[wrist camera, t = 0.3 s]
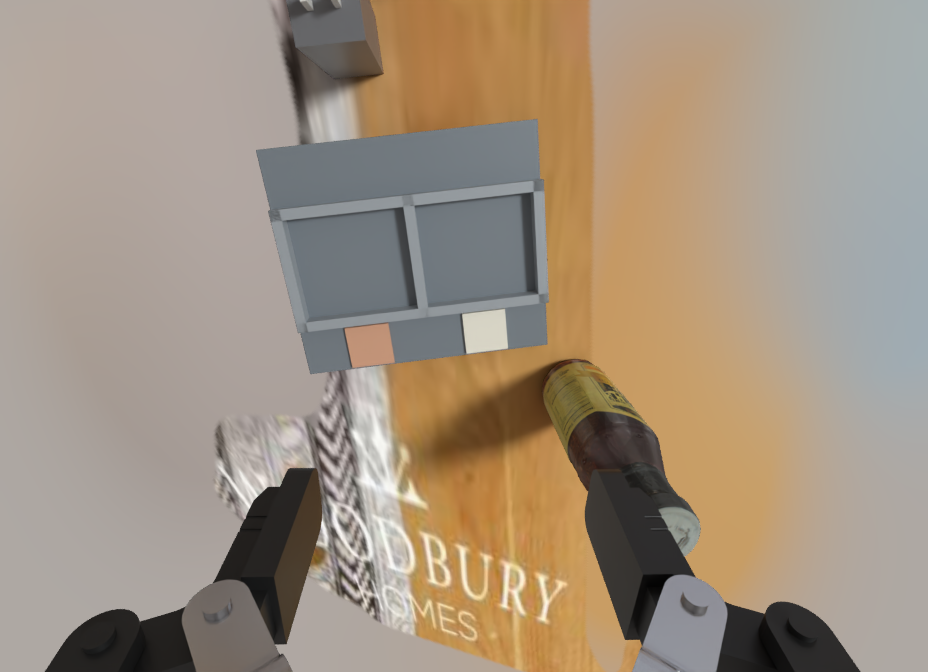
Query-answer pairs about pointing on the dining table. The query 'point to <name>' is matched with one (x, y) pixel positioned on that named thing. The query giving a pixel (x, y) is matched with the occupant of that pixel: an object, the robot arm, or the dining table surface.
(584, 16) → the dining table surface
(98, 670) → the robot arm
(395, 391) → the dining table surface
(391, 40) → the dining table surface
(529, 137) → the grey tray
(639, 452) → the sauce bottle
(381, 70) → the plug
